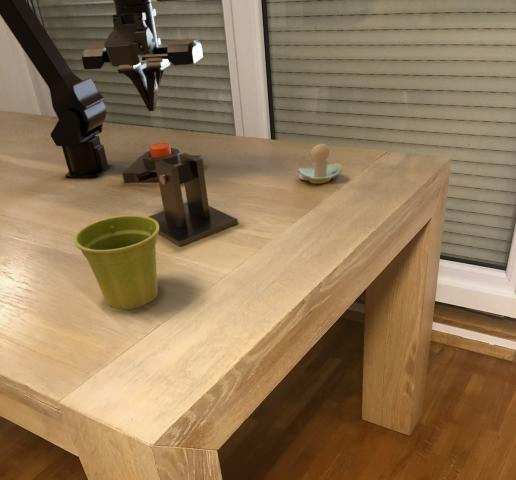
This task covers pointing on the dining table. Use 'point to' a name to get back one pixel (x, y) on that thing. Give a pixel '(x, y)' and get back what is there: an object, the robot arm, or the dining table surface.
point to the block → (150, 165)
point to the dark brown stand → (187, 205)
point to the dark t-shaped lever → (183, 168)
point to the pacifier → (320, 166)
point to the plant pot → (122, 258)
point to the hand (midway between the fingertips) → (152, 110)
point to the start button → (160, 150)
